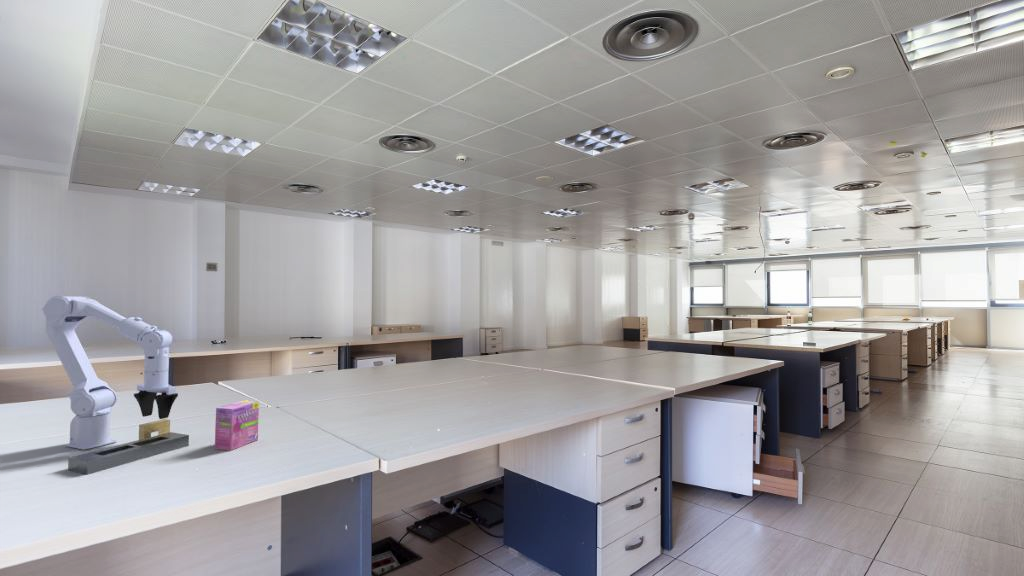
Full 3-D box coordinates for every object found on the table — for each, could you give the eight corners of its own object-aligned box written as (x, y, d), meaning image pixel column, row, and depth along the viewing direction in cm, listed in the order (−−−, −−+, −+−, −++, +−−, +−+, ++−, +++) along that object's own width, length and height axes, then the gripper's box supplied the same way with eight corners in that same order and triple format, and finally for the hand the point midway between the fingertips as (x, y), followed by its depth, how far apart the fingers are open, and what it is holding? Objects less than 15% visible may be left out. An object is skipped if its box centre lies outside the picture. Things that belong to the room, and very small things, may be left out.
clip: (138, 445, 132) (139, 424, 132) (164, 438, 139) (164, 419, 139) (143, 446, 131) (144, 425, 132) (169, 439, 138) (170, 419, 138)
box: (231, 451, 128) (232, 408, 129) (214, 449, 129) (215, 407, 130) (258, 440, 138) (259, 400, 139) (242, 438, 140) (243, 399, 140)
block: (68, 469, 113) (68, 457, 113) (170, 442, 136) (170, 432, 136) (87, 474, 110) (87, 461, 110) (188, 445, 133) (188, 435, 133)
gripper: (125, 371, 135) (124, 417, 134) (157, 374, 129) (156, 422, 129) (151, 368, 141) (150, 412, 141) (183, 370, 136) (182, 416, 136)
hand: (155, 417), depth 135 cm, fingers open, 7 cm apart
